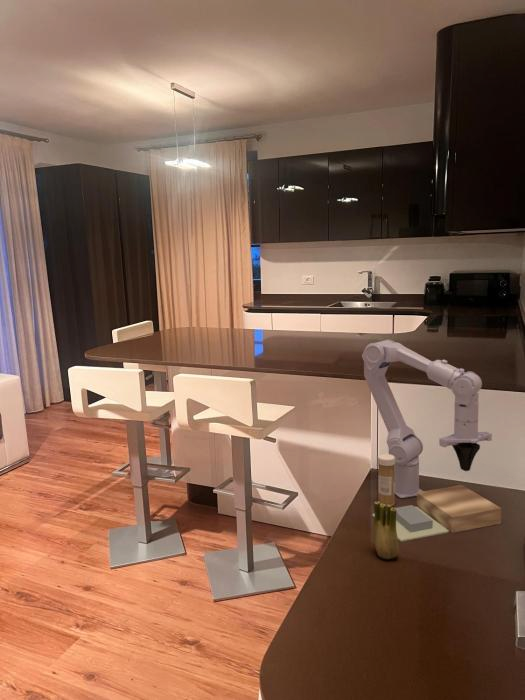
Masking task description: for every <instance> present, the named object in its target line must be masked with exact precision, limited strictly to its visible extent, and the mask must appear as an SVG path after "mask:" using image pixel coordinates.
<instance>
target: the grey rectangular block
mask: <svg viewBox="0 0 525 700" xmlns="http://www.w3.org/2000/svg"><path fill="white" fill-rule="evenodd" d="M415 507H416V506H414V505H412V504H411V505H405V506H399V507H398V506H397V507H394V508H395V509H396V510H397V513H396V520H397V521H398V522H399V523H400V524H401V525H403V526H404V527H405V528H406V529H407V530H409V531H410V532H416V531H421V530H426V529H431V528H433V520H431V519H430V518H429V517H427V516H426V515H425V514H423V513H422V512H421V511H419V510H418V509H417V508H415Z"/></svg>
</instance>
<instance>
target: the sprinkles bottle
mask: <svg viewBox="0 0 525 700" xmlns="http://www.w3.org/2000/svg"><path fill="white" fill-rule="evenodd" d="M377 465H378V470H377V471H378V473H377V474H378V477H377V481H378V482H377V484H378V487H377V488H378V489H377V491H378V501H377V502H380V504H385V505H386V507H387V505H388V504H389V505H391V507H393V506H395V504H396V499H395V496H396V494H395V476H394V465H395V457H394V456H393V455H390V454H389V453H382V454H379V455H378V456H377Z"/></svg>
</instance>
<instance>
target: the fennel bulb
mask: <svg viewBox="0 0 525 700" xmlns="http://www.w3.org/2000/svg"><path fill="white" fill-rule="evenodd" d="M373 503H374V504H373V506H374V507H373V508H374V509H373V510H374V514H375V518H374V517H373V518H374V523H373V535H374V536H373V537H374V545H375V550H376V553H377V556H378V557H379V558H380V559H383V560H391V559H395V558H396V557H397V556H399V552H400V551H399V550H400V547H399V540H398V537H397V531H396V513H397V510H396V509H395V508H396V507H392V506H391V505H389V504H388V505H387V506H386V505H385V504H380V502H378V501H374V502H373Z"/></svg>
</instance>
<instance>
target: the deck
mask: <svg viewBox="0 0 525 700" xmlns="http://www.w3.org/2000/svg"><path fill="white" fill-rule="evenodd" d="M422 491H423V492H417V496H416V507H418V508H419V509H420V510H422V511H423V512H424V513H426V514H427V515H428V516H430V517H431V518H432V519H434V520H435V521H436V522H438V523H439V524H440V525H442V526H443V527H445V528H446V529H447V530H449V533H451V534H454V533H460V532H464V531H470V530H475V529H479V528H485V527H490V526H494V525H500V524H502V507H500V506H498V505H497V504H495V503H494V502H492V501H490V500H488V499H487V498H484V496H481V495H479V494H478V493H476V492H475V491H473V490H471V489H469V488H468V487H466V486H464V485H463V484H460V485H454V486H448V487H441V488H435V489H430V490H422Z"/></svg>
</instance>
